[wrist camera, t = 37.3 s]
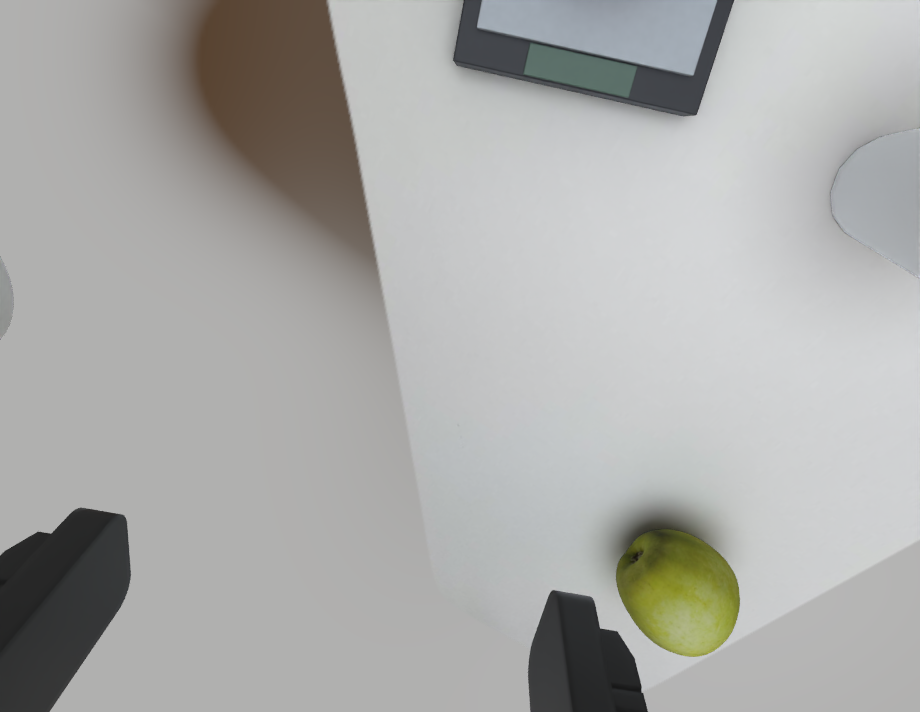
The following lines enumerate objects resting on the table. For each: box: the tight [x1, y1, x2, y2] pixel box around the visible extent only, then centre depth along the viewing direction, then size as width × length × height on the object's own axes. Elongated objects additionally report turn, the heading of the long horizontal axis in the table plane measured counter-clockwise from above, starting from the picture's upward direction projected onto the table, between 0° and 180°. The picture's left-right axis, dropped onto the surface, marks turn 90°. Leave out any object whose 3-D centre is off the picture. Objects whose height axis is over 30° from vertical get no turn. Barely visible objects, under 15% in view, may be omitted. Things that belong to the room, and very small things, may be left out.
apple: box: [616, 529, 740, 657], centre depth 43 cm, size 8×9×8 cm
